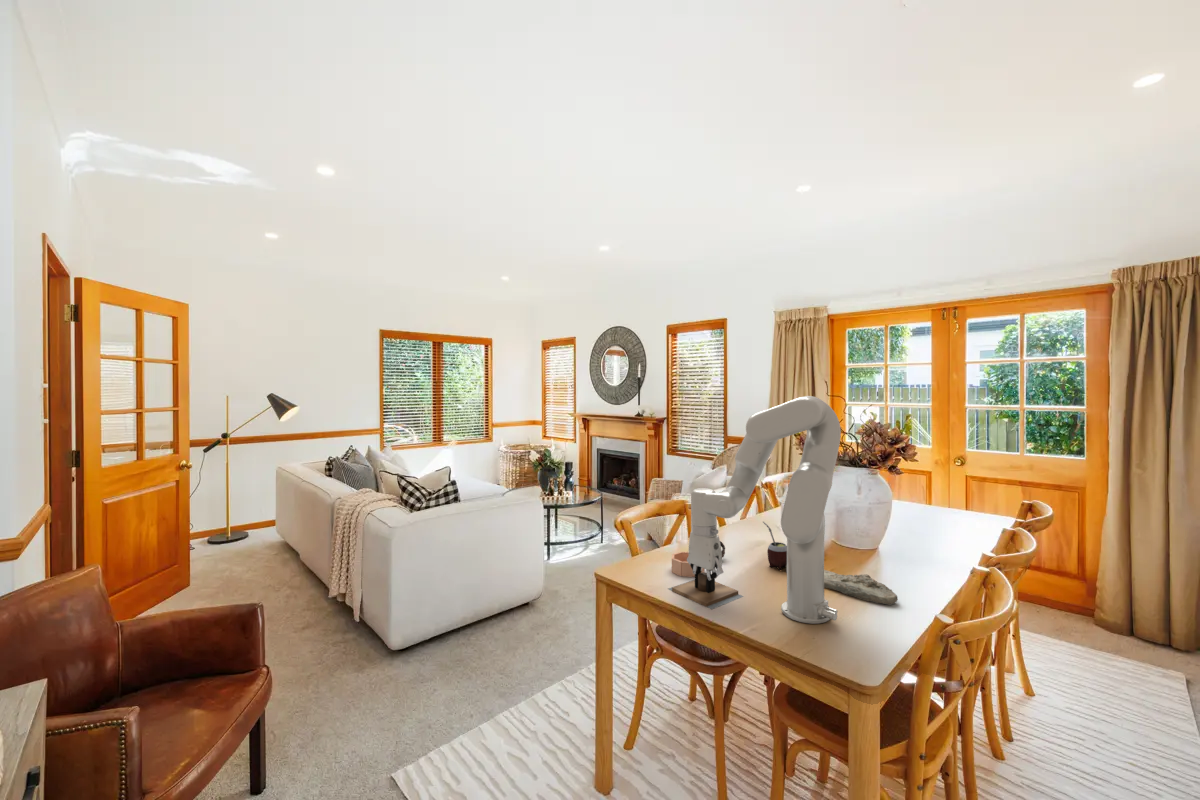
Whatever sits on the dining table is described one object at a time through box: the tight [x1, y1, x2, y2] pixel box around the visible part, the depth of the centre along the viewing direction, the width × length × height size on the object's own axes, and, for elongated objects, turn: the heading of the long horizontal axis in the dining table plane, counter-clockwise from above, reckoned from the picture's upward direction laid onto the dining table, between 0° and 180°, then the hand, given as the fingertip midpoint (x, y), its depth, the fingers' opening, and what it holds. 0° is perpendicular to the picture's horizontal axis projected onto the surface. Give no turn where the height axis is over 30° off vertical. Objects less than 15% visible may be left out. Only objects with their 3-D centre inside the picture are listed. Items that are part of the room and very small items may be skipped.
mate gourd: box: [762, 521, 787, 571], centre depth 172 cm, size 8×8×15 cm
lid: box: [671, 571, 739, 608], centre depth 151 cm, size 14×14×5 cm
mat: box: [667, 579, 744, 610], centre depth 151 cm, size 18×14×1 cm
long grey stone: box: [785, 565, 898, 606], centre depth 155 cm, size 35×5×10 cm
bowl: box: [671, 551, 705, 578], centre depth 169 cm, size 11×11×5 cm
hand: (704, 588), depth 151 cm, fingers closed on lid, 4 cm apart
